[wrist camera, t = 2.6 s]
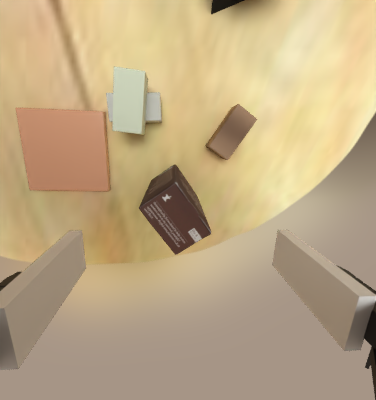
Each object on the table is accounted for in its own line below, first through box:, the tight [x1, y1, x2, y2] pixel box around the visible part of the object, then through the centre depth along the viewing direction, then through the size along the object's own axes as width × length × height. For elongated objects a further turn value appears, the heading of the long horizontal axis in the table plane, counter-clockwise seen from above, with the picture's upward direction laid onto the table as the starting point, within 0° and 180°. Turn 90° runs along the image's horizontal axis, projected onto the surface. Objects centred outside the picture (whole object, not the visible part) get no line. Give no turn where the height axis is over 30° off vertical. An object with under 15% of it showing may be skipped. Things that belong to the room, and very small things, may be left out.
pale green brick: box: [112, 66, 148, 135], centre depth 23 cm, size 6×3×3 cm, turn 173°
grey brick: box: [106, 93, 162, 123], centre depth 26 cm, size 6×3×3 cm, turn 91°
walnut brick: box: [206, 104, 257, 160], centre depth 28 cm, size 6×3×3 cm, turn 145°
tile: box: [16, 108, 110, 191], centre depth 27 cm, size 10×10×1 cm
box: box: [139, 165, 211, 254], centre depth 25 cm, size 6×4×12 cm
